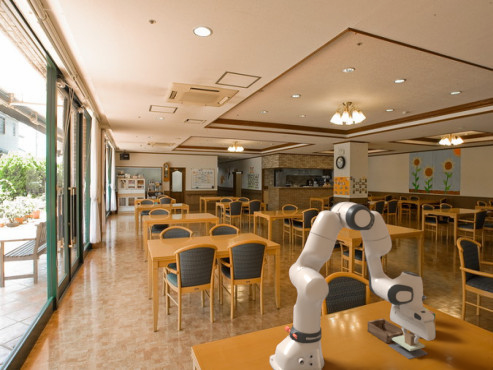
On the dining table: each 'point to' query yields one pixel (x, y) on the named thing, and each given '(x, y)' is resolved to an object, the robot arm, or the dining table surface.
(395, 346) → the mat
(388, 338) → the open wooden box
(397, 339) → the cover plate
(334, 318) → the dining table surface
